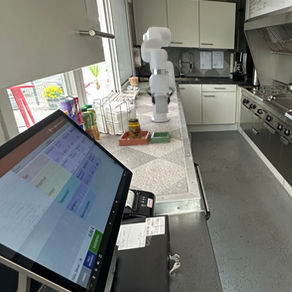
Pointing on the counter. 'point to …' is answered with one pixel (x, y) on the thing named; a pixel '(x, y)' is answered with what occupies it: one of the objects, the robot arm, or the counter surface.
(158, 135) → the green bin
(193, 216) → the counter surface
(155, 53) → the robot arm
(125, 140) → the terracotta bin
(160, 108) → the grey rectangular block
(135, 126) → the condiment
